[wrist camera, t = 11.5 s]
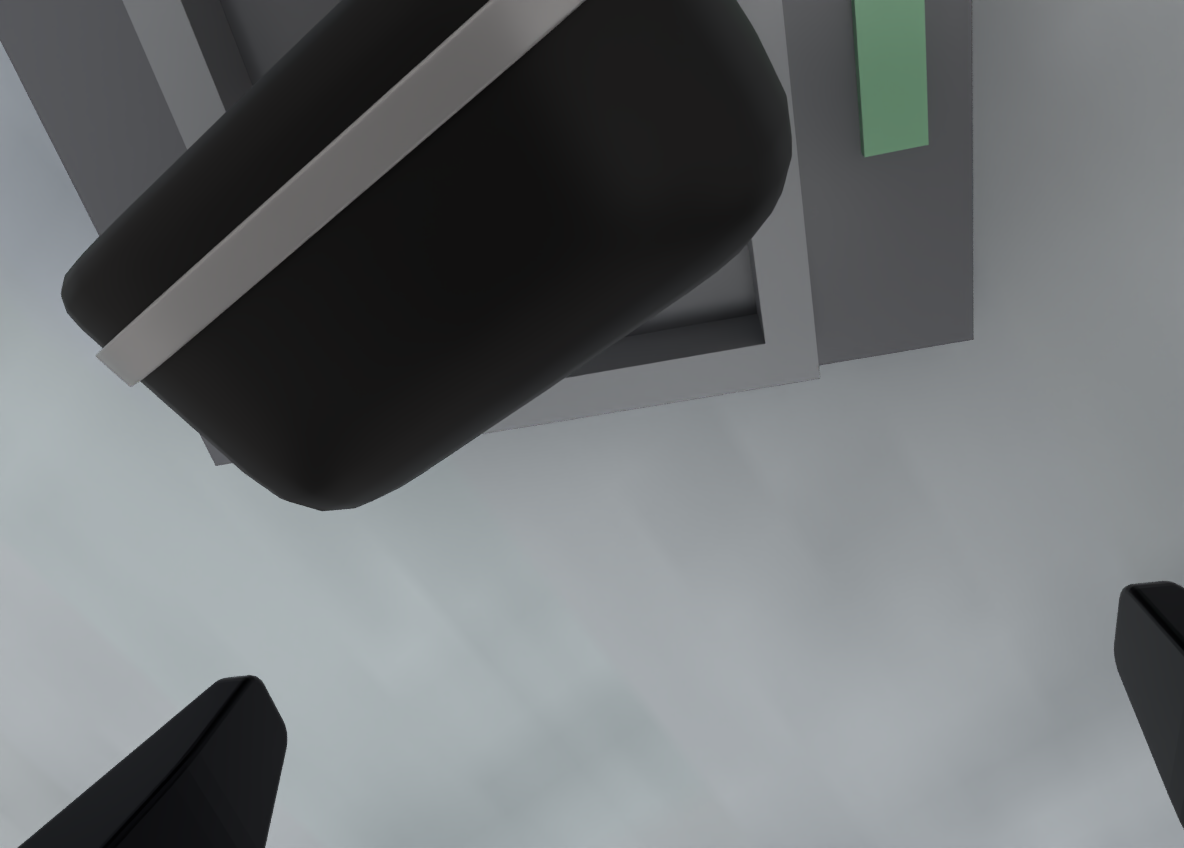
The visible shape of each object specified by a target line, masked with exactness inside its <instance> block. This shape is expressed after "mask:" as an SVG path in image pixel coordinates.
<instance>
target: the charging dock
mask: <svg viewBox="0 0 1184 848" xmlns="http://www.w3.org/2000/svg"><path fill="white" fill-rule="evenodd" d="M340 1H341V0H0V41H1V43H2V45H3V47H4V49H5V50H6V52H7V54H8V56H9V58H10V60H11V62H12V64H13V66H14V68H15V70H16V72H17V74H18V76H19V78H20V80H21V82H22V84H23V86H24V88H25V90H26V92H27V94H28V96H29V98H30V100H31V102H32V104H33V106H34V108H35V110H36V112H37V114H38V116H39V118H40V120H41V122H42V124H43V126H44V128H45V129H46V131H47V133H48V135H49V137H50V139H51V141H52V143H53V145H54V147H55V149H56V151H57V153H58V155H59V157H60V159H61V161H62V163H63V165H64V167H65V169H66V171H67V173H68V175H69V177H70V179H71V181H72V183H73V185H74V187H75V189H76V191H77V193H78V195H79V197H80V199H81V201H82V203H83V205H84V206H85V208H86V210H87V212H88V214H89V216H90V218H91V220H92V222H93V224H94V226H95V228H96V230H97V232H98V234H99V236H100V235H101V234H102V233H103V232H104V231H105V230H106V229H107V228H108V227H109V226H110V225H111V224H112V223H113V222H114V221H115V220H116V219H117V218H118V217H119V216H120V215H121V214H122V213H123V212H124V211H125V210H126V209H127V208H128V207H129V206H130V205H131V204H132V203H133V202H134V201H135V200H136V199H138V198H139V197H140V196H141V195H142V194H143V193H144V192H145V191H146V190H147V189H148V188H149V187H150V186H151V185H152V184H153V183H154V182H155V181H156V180H157V179H158V178H159V177H160V176H161V175H162V174H163V173H164V172H165V171H166V170H167V169H168V168H169V167H170V166H171V165H172V164H173V163H174V162H175V161H176V160H177V159H178V158H179V157H180V156H181V155H182V154H183V153H184V152H185V151H187V150H188V149H189V148H190V147H191V146H192V145H193V144H194V143H195V142H196V141H197V140H198V139H199V138H200V137H201V136H202V135H203V134H204V133H205V132H206V131H207V130H208V129H209V128H210V127H211V126H212V125H213V124H214V123H215V122H216V121H217V120H218V119H219V118H220V117H221V116H222V115H223V114H224V113H225V112H226V111H227V110H228V109H229V108H230V107H231V106H232V105H233V104H234V103H236V102H237V101H238V100H239V99H240V98H241V97H242V96H243V95H244V94H245V93H246V92H247V91H248V90H249V89H250V88H251V87H252V86H253V85H254V84H255V83H256V82H257V81H258V80H259V79H260V78H261V77H262V76H263V75H264V74H265V73H266V72H267V71H269V70H270V69H271V68H272V67H273V66H274V65H275V64H276V63H277V62H278V61H279V60H280V59H281V58H282V57H283V56H284V55H285V54H286V53H287V52H288V51H289V50H290V49H291V48H292V47H293V46H294V45H295V44H296V43H298V42H299V41H300V40H301V39H302V38H303V37H304V36H305V35H306V34H307V33H308V32H309V31H310V30H311V29H312V28H313V27H314V26H315V25H316V24H317V23H318V22H319V21H320V20H321V19H322V18H323V17H324V16H325V15H327V14H328V13H329V12H330V11H331V10H332V9H333V8H334V7H335V6H336V5H337V4H338V3H339V2H340ZM737 2H738V3H739V5H740V7H741V8H742V10H743V11H744V13H745V14H746V16H747V18H748V19H749V21H750V22H751V24H752V26H753V27H754V29H755V31H756V33H757V34H758V36H759V39H760V41H761V43H762V45H763V47H764V49H765V51H766V53H767V55H768V57H769V59H770V61H771V63H772V65H773V68H774V70H775V72H776V74H777V76H778V78H779V80H780V82H781V84H782V86H783V89H784V91H785V93H786V95H787V102H788V110H789V118H790V125H791V133H792V158H791V162H790V166H789V169H788V173H787V177H786V181H785V184H784V188H783V192H782V194H781V196H780V198H779V200H778V202H777V204H776V206H775V208H774V210H773V212H772V213H771V215H770V216H769V217H768V218H767V220H766V221H765V222H764V224H763V225H762V226H761V227H760V229H759V230H758V231H757V233H756V234H755V235H754V236H753V238H752V239H751V240H750V241H749V242H748V243H747V245H746V246H745V247H744V248H743V249H742V250H741V252H740V253H739V254H738V255H736V256H735V257H734V258H733V259H732V260H731V261H729V262H728V263H727V264H726V265H725V266H723V267H722V268H721V269H720V270H719V271H718V272H716V273H715V274H714V275H712V276H711V277H710V278H708V279H707V280H705V281H704V282H703V283H701V284H700V285H698V286H697V287H696V288H694V289H693V290H692V291H690V292H689V293H687V294H686V295H684V296H683V297H682V298H680V299H679V300H677V301H676V302H674V303H673V304H671V305H670V306H669V307H667V308H666V309H664V310H663V311H661V312H660V313H658V314H657V315H655V316H654V317H653V318H651V319H650V320H648V321H647V322H645V323H644V324H642V325H641V326H640V327H638V328H637V329H635V330H634V331H632V332H631V333H629V334H628V335H626V336H625V337H624V338H622V339H621V340H619V341H618V342H616V343H615V344H613V345H612V346H611V347H609V348H608V349H606V350H605V351H603V352H602V353H600V354H599V355H597V356H596V357H595V358H593V359H592V360H590V361H589V362H587V363H586V364H584V365H583V366H581V367H580V368H579V369H577V370H576V371H574V372H573V373H571V374H570V375H568V376H567V377H566V378H564V379H563V380H561V381H560V382H558V383H557V384H555V385H554V386H552V387H551V388H550V389H548V390H547V391H545V392H544V393H542V394H541V395H539V396H538V397H536V398H535V399H533V400H532V401H530V402H529V403H527V404H526V405H524V406H523V407H521V408H520V409H518V410H517V411H515V412H514V413H512V414H511V415H509V416H508V417H506V418H505V419H503V420H502V421H500V422H499V423H497V424H496V425H494V426H493V427H491V428H490V429H488V430H487V431H485V432H484V433H482V434H486V433H492V432H498V431H504V430H510V429H516V428H522V427H528V426H534V425H540V424H546V423H553V422H559V421H565V420H571V419H577V418H583V417H589V416H595V415H601V414H607V413H613V412H619V411H626V410H632V409H638V408H644V407H650V406H656V405H662V404H668V403H674V402H680V401H686V400H692V399H698V398H705V397H711V396H717V395H723V394H729V393H735V392H741V391H747V390H753V389H759V388H765V387H771V386H777V385H784V384H790V383H796V382H802V381H808V380H814V379H820V373H819V365H824V364H830V363H836V362H842V361H848V360H854V359H860V358H866V357H872V356H878V355H884V354H890V353H896V352H902V351H908V350H914V349H920V348H926V347H932V346H938V345H944V344H950V343H956V342H962V341H968V340H973V123H972V0H737ZM200 436H201V438H202V439H203V441H204V443H205V445H206V447H207V449H208V451H209V453H210V455H211V457H212V459H213V461H214V463H215V465H216V466H218V465H224V464H230V463H232V462H231V461H230V460H229V459H228V458H227V457H225V456H224V455H223V454H222V453H221V452H220V451H219V450H218V449H216V448H215V447H214V446H213V445H212V444H211V443H210V442H208V441H207V440H206V439H205V438H204V437H203V436H202V435H201V434H200Z"/></svg>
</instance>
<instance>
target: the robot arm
mask: <svg viewBox="0 0 1184 848" xmlns="http://www.w3.org/2000/svg"><path fill="white" fill-rule="evenodd" d="M1114 656H1115V662H1116V666H1117V669H1118V672H1119V675H1120V677H1121V680H1122V682H1123V685H1124V687H1125V690H1126V692H1127V695H1128V697H1129V700H1130V702H1131V704H1132V707H1133V709H1134V712H1135V714H1136V717H1137V719H1138V722H1139V724H1140V727H1141V729H1142V731H1143V734H1144V736H1145V739H1146V741H1147V744H1148V746H1149V749H1150V751H1151V754H1152V756H1153V758H1154V761H1155V763H1156V766H1157V768H1158V771H1159V773H1160V776H1161V778H1162V781H1163V783H1164V786H1165V788H1166V790H1167V793H1168V795H1169V798H1170V800H1171V802H1172V805H1173V807H1174V809H1175V811H1176V814H1177V816H1178V818H1179V821H1180V823H1181V825H1182V826H1183V828H1184V588H1183V587H1182V586H1180V585H1178V584H1176V583H1173V582H1170V581H1158V582H1148V583H1138V584H1130V585H1128V586H1126V587H1124V588H1123V590H1122V592H1121V594H1120V598H1119V606H1118V615H1117V624H1116V633H1115V642H1114ZM286 747H287V731H286V727H285V724H284V721H283V719H282V717H281V716H280V714H279V712H278V710H277V708H276V706H275V704H274V702H273V700H272V698H271V697H270V695H269V693H268V691H267V689H266V687H265V685H264V683H263V682H262V680H260V679H259V678H258V677H256V676H252V675H247V676H237V677H228V678H223V679H220V680H218V681H217V682H215V683H214V684H213V685H211V686H210V687H209V688H208V689H207V690H205V691H204V692H203V693H202V694H201V695H200V696H198V697H197V698H196V699H195V700H194V701H192V702H191V703H190V704H189V705H188V706H186V707H185V708H184V709H183V710H182V711H180V712H179V713H178V714H177V715H176V716H174V717H173V718H172V719H171V720H170V721H168V722H167V723H166V724H165V725H164V726H162V727H161V728H160V729H159V730H158V731H157V732H155V733H154V734H153V735H152V736H151V737H149V738H148V739H147V740H146V741H145V742H143V743H142V744H141V745H140V746H139V747H137V748H136V749H135V750H134V751H133V752H131V753H130V754H129V755H128V756H127V757H125V758H124V759H123V760H122V761H121V762H119V763H118V764H117V765H116V766H115V767H114V768H112V769H111V770H110V771H109V772H108V773H106V774H105V775H104V776H103V777H102V778H100V779H99V780H98V781H97V782H96V783H94V784H93V785H92V786H91V787H90V788H88V789H87V790H86V791H85V792H84V793H82V794H81V795H80V796H79V797H78V798H76V799H75V800H74V801H73V802H72V803H70V804H69V805H68V806H67V807H66V808H65V809H63V810H62V811H61V812H60V813H59V814H57V815H56V816H55V817H54V818H53V819H51V820H50V821H49V822H48V823H47V824H45V825H44V826H43V827H42V828H41V829H39V830H38V831H37V832H36V833H35V834H33V835H32V836H31V837H30V838H29V839H27V840H26V841H25V842H24V843H23V844H21V845H20V846H19V847H18V848H265V846H266V841H267V837H268V832H269V827H270V823H271V818H272V813H273V809H274V804H275V799H276V795H277V790H278V785H279V781H280V776H281V771H282V767H283V762H284V757H285V753H286Z"/></svg>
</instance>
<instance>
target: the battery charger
mask: <svg viewBox="0 0 1184 848" xmlns="http://www.w3.org/2000/svg"><path fill="white" fill-rule="evenodd" d="M791 158H792V133H791V125H790V118H789V110H788V102H787V95H786V93H785V91H784V89H783V86H782V84H781V82H780V80H779V78H778V76H777V74H776V72H775V70H774V68H773V65H772V63H771V61H770V59H769V57H768V55H767V53H766V51H765V49H764V47H763V45H762V43H761V41H760V39H759V36H758V34H757V33H756V31H755V29H754V27H753V26H752V24H751V22H750V21H749V19H748V18H747V16H746V14H745V13H744V11H743V10H742V8H741V7H740V5H739V3H738V2H737V0H341V1H340V2H339V3H338V4H337V5H336V6H335V7H334V8H333V9H332V10H331V11H330V12H329V13H328V14H327V15H325V16H324V17H323V18H322V19H321V20H320V21H319V22H318V23H317V24H316V25H315V26H314V27H313V28H312V29H311V30H310V31H309V32H308V33H307V34H306V35H305V36H304V37H303V38H302V39H301V40H300V41H299V42H298V43H296V44H295V45H294V46H293V47H292V48H291V49H290V50H289V51H288V52H287V53H286V54H285V55H284V56H283V57H282V58H281V59H280V60H279V61H278V62H277V63H276V64H275V65H274V66H273V67H272V68H271V69H270V70H269V71H267V72H266V73H265V74H264V75H263V76H262V77H261V78H260V79H259V80H258V81H257V82H256V83H255V84H254V85H253V86H252V87H251V88H250V89H249V90H248V91H247V92H246V93H245V94H244V95H243V96H242V97H241V98H240V99H239V100H238V101H237V102H236V103H234V104H233V105H232V106H231V107H230V108H229V109H228V110H227V111H226V112H225V113H224V114H223V115H222V116H221V117H220V118H219V119H218V120H217V121H216V122H215V123H214V124H213V125H212V126H211V127H210V128H209V129H208V130H207V131H206V132H205V133H204V134H203V135H202V136H201V137H200V138H199V139H198V140H197V141H196V142H195V143H194V144H193V145H192V146H191V147H190V148H189V149H188V150H187V151H185V152H184V153H183V154H182V155H181V156H180V157H179V158H178V159H177V160H176V161H175V162H174V163H173V164H172V165H171V166H170V167H169V168H168V169H167V170H166V171H165V172H164V173H163V174H162V175H161V176H160V177H159V178H158V179H157V180H156V181H155V182H154V183H153V184H152V185H151V186H150V187H149V188H148V189H147V190H146V191H145V192H144V193H143V194H142V195H141V196H140V197H139V198H138V199H136V200H135V201H134V202H133V203H132V204H131V205H130V206H129V207H128V208H127V209H126V210H125V211H124V212H123V213H122V214H121V215H120V216H119V217H118V218H117V219H116V220H115V221H114V222H113V223H112V224H111V225H110V226H109V227H108V228H107V229H106V230H105V231H104V232H103V233H102V234H101V235H100V236H99V237H98V238H97V239H96V240H95V242H94V243H93V244H92V245H91V246H90V247H89V248H88V249H87V250H86V251H85V252H84V253H83V254H82V255H81V257H80V258H79V259H78V260H77V261H76V263H75V264H74V265H73V266H72V267H71V269H70V270H69V271H68V272H67V273H66V275H65V277H64V281H63V286H62V291H61V297H62V300H63V303H64V305H65V308H66V311H67V313H68V314H69V315H70V317H71V318H72V319H73V320H74V321H75V322H76V323H77V325H78V326H79V327H80V328H81V329H82V330H83V331H84V332H85V333H86V334H88V335H89V336H90V337H91V338H92V339H93V340H94V341H96V342H97V343H98V344H99V345H100V346H101V347H102V348H103V349H102V350H101V351H100V352H99V353H98V354H97V355H96V357H97V358H98V359H99V360H100V361H101V362H102V363H103V364H104V365H106V366H107V367H108V368H109V369H110V370H111V371H112V372H114V373H115V374H116V375H117V376H118V377H119V378H120V379H122V380H123V381H124V382H125V383H126V384H127V385H128V386H130V387H132V386H134V385H135V384H137V383H138V382H140V381H141V382H142V383H143V384H144V385H145V386H146V387H147V388H149V389H150V390H151V391H152V392H153V393H154V394H155V395H157V396H158V397H159V398H160V399H161V400H162V401H163V402H164V403H166V404H167V405H168V406H169V407H170V408H171V409H172V410H173V411H175V412H176V413H177V414H178V415H179V416H180V417H181V418H183V419H184V420H185V421H186V422H187V423H188V424H189V425H190V426H192V427H193V428H194V429H195V430H196V431H197V432H198V433H199V434H201V435H202V436H203V437H204V438H205V439H206V440H207V441H208V442H210V443H211V444H212V445H213V446H214V447H215V448H216V449H218V450H219V451H220V452H221V453H222V454H223V455H224V456H225V457H227V458H228V459H229V460H230V461H231V462H232V463H233V464H234V465H236V466H237V467H238V468H239V469H240V470H241V471H242V472H244V473H245V474H246V475H248V476H249V477H251V478H252V479H253V480H255V481H256V482H258V483H259V484H261V485H262V486H263V487H265V488H266V489H268V490H269V491H271V492H272V493H273V494H275V495H276V496H278V497H279V498H281V499H284V500H286V501H289V502H292V503H296V504H299V505H303V506H306V507H310V508H313V509H317V510H320V511H329V510H341V509H352V508H356V507H359V506H361V505H364V504H366V503H369V502H371V501H373V500H375V499H377V498H379V497H381V496H384V495H386V494H388V493H390V492H392V491H394V490H396V489H398V488H400V487H402V486H403V485H405V484H406V483H408V482H410V481H411V480H413V479H414V478H416V477H418V476H419V475H421V474H422V473H424V472H425V471H427V470H428V469H430V468H431V467H433V466H434V465H436V464H437V463H439V462H440V461H442V460H443V459H445V458H446V457H448V456H449V455H451V454H452V453H454V452H455V451H457V450H458V449H460V448H461V447H463V446H464V445H466V444H467V443H469V442H470V441H472V440H473V439H475V438H476V437H478V436H479V435H481V434H482V433H484V432H485V431H487V430H488V429H490V428H491V427H493V426H494V425H496V424H497V423H499V422H500V421H502V420H503V419H505V418H506V417H508V416H509V415H511V414H512V413H514V412H515V411H517V410H518V409H520V408H521V407H523V406H524V405H526V404H527V403H529V402H530V401H532V400H533V399H535V398H536V397H538V396H539V395H541V394H542V393H544V392H545V391H547V390H548V389H550V388H551V387H552V386H554V385H555V384H557V383H558V382H560V381H561V380H563V379H564V378H566V377H567V376H568V375H570V374H571V373H573V372H574V371H576V370H577V369H579V368H580V367H581V366H583V365H584V364H586V363H587V362H589V361H590V360H592V359H593V358H595V357H596V356H597V355H599V354H600V353H602V352H603V351H605V350H606V349H608V348H609V347H611V346H612V345H613V344H615V343H616V342H618V341H619V340H621V339H622V338H624V337H625V336H626V335H628V334H629V333H631V332H632V331H634V330H635V329H637V328H638V327H640V326H641V325H642V324H644V323H645V322H647V321H648V320H650V319H651V318H653V317H654V316H655V315H657V314H658V313H660V312H661V311H663V310H664V309H666V308H667V307H669V306H670V305H671V304H673V303H674V302H676V301H677V300H679V299H680V298H682V297H683V296H684V295H686V294H687V293H689V292H690V291H692V290H693V289H694V288H696V287H697V286H698V285H700V284H701V283H703V282H704V281H705V280H707V279H708V278H710V277H711V276H712V275H714V274H715V273H716V272H718V271H719V270H720V269H721V268H722V267H723V266H725V265H726V264H727V263H728V262H729V261H731V260H732V259H733V258H734V257H735V256H736V255H738V254H739V253H740V252H741V250H742V249H743V248H744V247H745V246H746V245H747V243H748V242H749V241H750V240H751V239H752V238H753V236H754V235H755V234H756V233H757V231H758V230H759V229H760V227H761V226H762V225H763V224H764V222H765V221H766V220H767V218H768V217H769V216H770V215H771V213H772V212H773V210H774V208H775V206H776V204H777V202H778V200H779V198H780V196H781V194H782V192H783V188H784V184H785V181H786V177H787V173H788V169H789V166H790V162H791Z"/></svg>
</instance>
